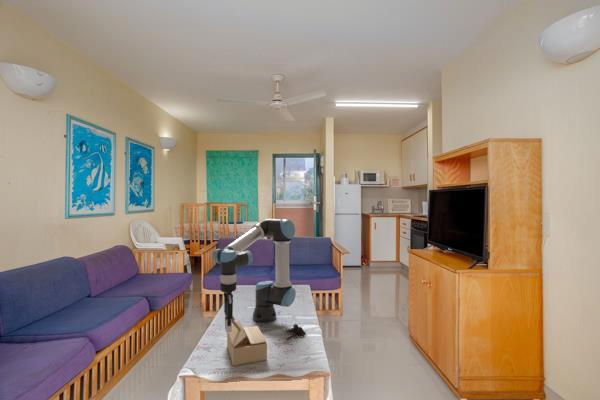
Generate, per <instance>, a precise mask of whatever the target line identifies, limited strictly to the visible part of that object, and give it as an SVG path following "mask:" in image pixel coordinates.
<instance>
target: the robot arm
mask: <svg viewBox="0 0 600 400" xmlns="http://www.w3.org/2000/svg"><path fill="white" fill-rule="evenodd" d="M295 227H296V226H295V224H294V222H293V221H292V220H291V219H286V218H271V217H270V218H266V219H263V220H261V221H259V222H257V223H256V224H254V225H253V226H252V227H251V228H250V229H249V230H248V231H246V232H245V233H244V234H242V235H241V236H239V237H238V238H236V239H235V240H232V241H231V242H230V243H229V244H228V245H226V246H225V247H223V248H216V249H214V250H213V251H212V255H211V256H212V261H213V262H214V263H217V264H220V275H219V277H218V278H219V279H220V287H219V289H220V292H223V302H224V303H223V305H224V307H223V312H224V330H225V333H227V332H232V326H233V323H232V318H233V317H234V315H233V313H234V312H233V311H234V310H233V306H234V299H233V298H234V294H233V292H235V291H237V269H239V268H242V267H245V266H246V267H247V266H248V265H251V264H252V263H253V262H254V261H253V260H254V256H253V255H254V254H253V253H252V252H251V251H250V250H246V249H247V248H249V247H250V246H251V245H253V244H254V243H256V242H257V241H258V240H262V239H263V238H268V237H271V238H272V241H273V243H274V244H275V245H274V251H275V252H274V254H275V256H274V257H275V260H274V262H275V281H273V280H264V281H260V282H257V283H256V284H255V307H254V308H253V309H254V310H253V312H252V320H254V321H255V322H259V323H269V322H272V321H275V320H276V319H277V311H276V308H275V306H281V307H285V308H286V307H287V308H288V307H290V306H292V305H293V303H294V301H295V300H296V293H297V291H296V289H295V288H294V287H293V285H292V282H291V281H290V243H291V242H292V239H293V238H294V237H295V235H296V228H295Z"/></svg>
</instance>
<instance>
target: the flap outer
mask: <svg viewBox="0 0 600 400" xmlns="http://www.w3.org/2000/svg"><path fill="white" fill-rule="evenodd" d="M235 320H236V319H235V317H234V316H233V318H232V332H228V333H229V336H230V339H231V342H232V345H233V347H235V346H236V345H237V344H238V343H240V342H241V341H242V340H243V339H244V338H245V337H246V334H245V332H244V327H243V326H242V323H241V321H240V320H238V321H237V322H236V321H235Z"/></svg>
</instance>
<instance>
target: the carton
mask: <svg viewBox="0 0 600 400" xmlns="http://www.w3.org/2000/svg"><path fill="white" fill-rule="evenodd" d="M243 329H244V332H245V334H246V337H245V338H244V339H243V340H242V341H241V342H240V343H238V344H237V345H236V346H235V347H233V345H232V342H231V339H230V336H229V333H228V332H226V339H227V340H226V347H227V351H228V354H229V357H230V361H231V364H232V367H238V366H243V365H248V364H253V363H254V364H255V363H259V362H264V361H267V360H268V342H267V340H266V338H265V336H264V335H263V333H262V331H261V330H260V328H259V326H258V325H255V326H245V327H243Z"/></svg>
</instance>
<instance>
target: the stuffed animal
mask: <svg viewBox="0 0 600 400" xmlns="http://www.w3.org/2000/svg"><path fill="white" fill-rule="evenodd" d="M285 333H286V334H289V335H290V336H288V337H287V338H286V341H289V340H290V339H292V338H293V340H296V339H299V338H302V337H301V336H303V337H305V336H306V334H305V333H306V332H305V330H304V329H303V327H301V326H299V325H298V324H297V323H294V324H293V326H292V327H291V328H290V329H285ZM304 335H305V336H304Z"/></svg>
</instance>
